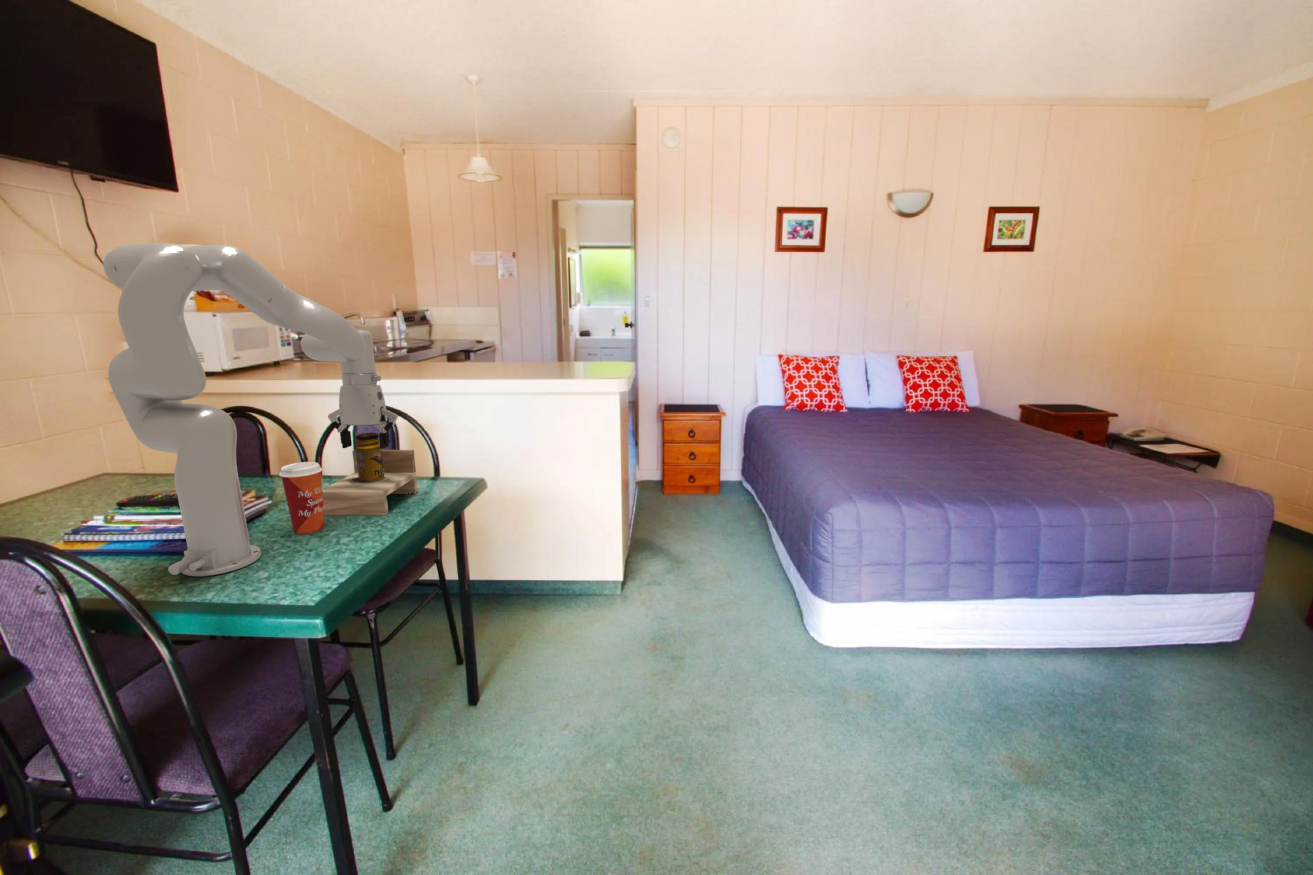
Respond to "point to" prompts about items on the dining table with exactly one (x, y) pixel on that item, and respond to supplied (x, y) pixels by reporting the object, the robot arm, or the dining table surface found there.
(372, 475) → the condiment
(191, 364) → the robot arm
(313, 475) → the coffee cup
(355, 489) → the shelf
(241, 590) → the dining table surface
